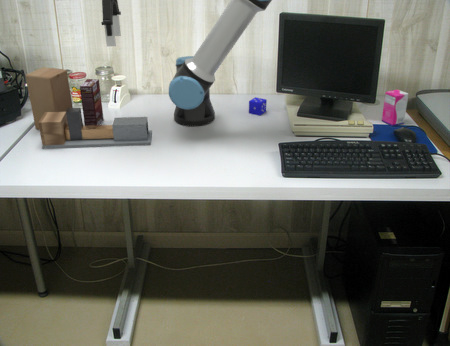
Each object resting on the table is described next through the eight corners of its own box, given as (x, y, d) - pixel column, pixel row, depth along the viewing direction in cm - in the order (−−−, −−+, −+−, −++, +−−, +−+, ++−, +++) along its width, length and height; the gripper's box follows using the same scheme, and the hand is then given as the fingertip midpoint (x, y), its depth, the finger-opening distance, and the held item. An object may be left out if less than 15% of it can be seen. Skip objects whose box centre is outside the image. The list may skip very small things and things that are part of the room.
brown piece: (118, 134, 170) (115, 106, 165) (117, 138, 167) (114, 110, 162) (53, 136, 169) (48, 108, 164) (50, 140, 166) (45, 112, 161)
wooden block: (75, 122, 183) (67, 69, 173) (59, 133, 174) (49, 77, 165) (52, 119, 186) (43, 66, 176) (35, 129, 177) (24, 74, 168)
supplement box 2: (392, 118, 186) (397, 88, 180) (404, 123, 181) (409, 93, 176) (380, 120, 184) (385, 91, 178) (391, 126, 179) (397, 96, 174)
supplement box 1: (98, 129, 177) (92, 86, 169) (84, 129, 177) (78, 86, 170) (104, 120, 185) (99, 78, 177) (91, 120, 185) (86, 78, 177)
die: (248, 113, 191) (248, 100, 188) (254, 109, 195) (255, 97, 192) (260, 115, 188) (260, 103, 186) (266, 111, 192) (266, 99, 190)
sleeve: (148, 132, 172) (147, 116, 170) (147, 140, 166) (146, 124, 164) (116, 133, 172) (114, 117, 169) (114, 141, 166) (112, 125, 163)
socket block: (69, 133, 172) (66, 111, 168) (64, 144, 164) (60, 121, 160) (49, 134, 171) (45, 112, 167) (42, 145, 163) (38, 122, 160)
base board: (152, 133, 174) (151, 130, 174) (150, 145, 166) (150, 142, 165) (49, 136, 172) (49, 133, 172) (42, 148, 163) (42, 145, 163)
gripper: (99, -35, 161) (107, 32, 171) (86, -25, 139) (96, 51, 149) (123, -35, 161) (129, 31, 172) (113, -26, 140) (121, 50, 150)
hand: (114, 40), depth 160 cm, fingers open, 13 cm apart
